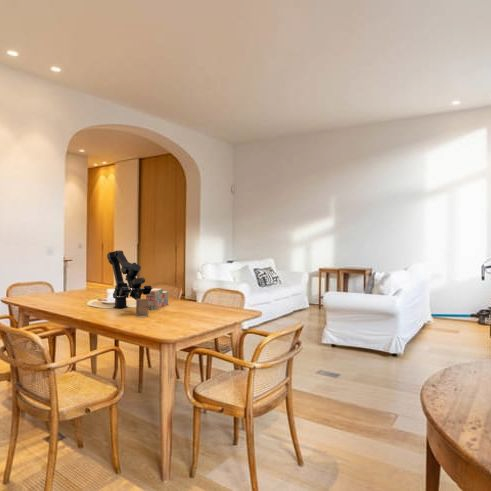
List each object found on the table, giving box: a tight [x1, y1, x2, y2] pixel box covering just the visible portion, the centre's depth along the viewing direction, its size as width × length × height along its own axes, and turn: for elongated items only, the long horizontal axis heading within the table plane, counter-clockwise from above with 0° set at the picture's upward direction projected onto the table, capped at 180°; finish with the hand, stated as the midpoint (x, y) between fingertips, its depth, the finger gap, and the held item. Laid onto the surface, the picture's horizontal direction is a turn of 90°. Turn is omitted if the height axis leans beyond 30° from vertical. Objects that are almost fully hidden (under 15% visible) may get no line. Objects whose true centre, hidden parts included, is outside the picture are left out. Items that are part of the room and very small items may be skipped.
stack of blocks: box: [145, 288, 169, 311], centre depth 257 cm, size 21×6×12 cm, turn 169°
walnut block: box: [135, 297, 149, 318], centre depth 227 cm, size 5×5×10 cm
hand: (139, 302), depth 230 cm, fingers closed
